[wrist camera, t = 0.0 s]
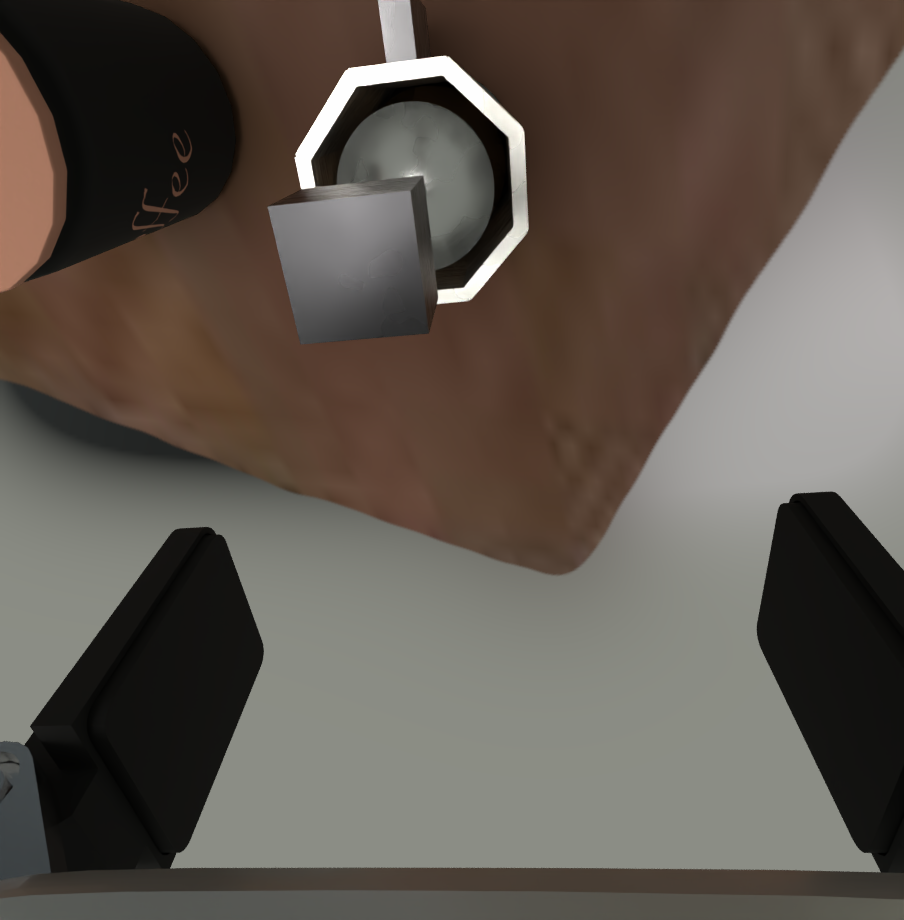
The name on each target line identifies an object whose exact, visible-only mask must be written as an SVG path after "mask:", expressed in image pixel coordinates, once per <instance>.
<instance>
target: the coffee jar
mask: <svg viewBox="0 0 904 920" xmlns="http://www.w3.org/2000/svg"><path fill="white" fill-rule="evenodd" d="M235 143H236V138H235V130H234V123H233V115H232V108H231V104H230V102H229V99H228V97H227V94H226V92H225V90H224V87H223V85H222V82H221V80H220V77H219V75H218V72H217V71H216V69H215V68H214V67H213V65H212V64H211V63H210V61H209V60H208V58H207V57H206V56H205V54H204V53H203V52H202V50H201V49H200V48H199V46H198V45H197V43H196V42H195V41H194V40H193V39H192V38H191V37H189V36H188V35H187V34H186V33H184V32H183V31H182V30H181V29H179V28H178V27H177V26H176V25H175V24H173V23H172V22H171V21H170V20H168V19H167V18H166V17H164V16H162V15H159V14H157V13H154V12H152V11H149V10H147V9H144V8H142V7H139V6H137V5H134V4H132V3H128V2H124V1H120V0H0V293H2V292H5V291H8V290H11V289H13V288H15V287H17V286H18V285H20V284H22V283H23V282H26V281H29V280H32V279H35V278H38V277H41V276H44V275H47V274H51V273H54V272H57V271H59V270H61V269H64V268H66V267H69V266H71V265H74V264H76V263H79V262H81V261H83V260H86V259H88V258H91V257H93V256H96V255H98V254H101V253H103V252H105V251H108V250H110V249H113V248H115V247H118V246H120V245H123V244H125V243H127V242H130V241H132V240H135V239H137V238H140V237H142V236H145V235H147V234H149V233H152V232H154V231H157V230H159V229H162V228H164V227H167V226H169V225H171V224H174V223H176V222H179V221H181V220H184V219H186V218H189V217H191V216H193V215H196V214H198V213H199V212H201V211H202V210H203V209H204V208H205V207H206V206H208V205H209V204H210V203H211V202H212V201H213V200H215V199H216V198H217V197H218V196H219V194H220V192H221V190H222V188H223V186H224V184H225V182H226V180H227V178H228V177H229V175H230V173H231V169H232V163H233V156H234V150H235Z"/></svg>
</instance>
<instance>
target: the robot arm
mask: <svg viewBox="0 0 904 920" xmlns="http://www.w3.org/2000/svg"><path fill="white" fill-rule="evenodd" d="M757 636H758V641H759V644H760V647H761V649H762V652H763V654H764V656H765V658H766V660H767V662H768V664H769V666H770V668H771V670H772V672H773V675H774V677H775V679H776V681H777V683H778V685H779V687H780V689H781V691H782V693H783V695H784V697H785V699H786V702H787V704H788V706H789V708H790V710H791V712H792V714H793V716H794V718H795V720H796V722H797V724H798V726H799V729H800V731H801V733H802V735H803V737H804V739H805V741H806V743H807V745H808V747H809V749H810V751H811V754H812V756H813V757H814V760H815V762H816V764H817V766H818V768H819V770H820V772H821V774H822V776H823V779H824V780H825V783H826V785H827V787H828V789H829V791H830V793H831V795H832V797H833V799H834V801H835V803H836V805H837V808H838V810H839V812H840V814H841V816H842V818H843V820H844V822H845V824H846V826H847V828H848V830H849V833H850V835H851V837H852V839H853V840H854V842H855V844H856V846H857V847H858V848H859V849H860V850H861V851H862V852H864V853H872V855H873V857H874V859H875V861H876V863H877V865H878V867H879V869H880V871H881V873H879V872H877V873H876V872H840V871H839V872H838V871H800V870H730V869H721V870H720V869H609V868H608V869H607V868H605V869H604V868H176V869H170V867H171V865H172V862H173V860H174V857H175V855H176V853H180V852H182V851H183V850H184V849H185V848H186V847H187V845H188V843H189V841H190V839H191V837H192V834H193V832H194V829H195V827H196V824H197V822H198V820H199V817H200V815H201V812H202V810H203V807H204V805H205V802H206V800H207V797H208V795H209V793H210V790H211V788H212V785H213V783H214V780H215V777H216V775H217V773H218V770H219V768H220V765H221V763H222V761H223V758H224V756H225V753H226V750H227V748H228V746H229V743H230V741H231V738H232V736H233V733H234V731H235V729H236V726H237V723H238V721H239V719H240V716H241V714H242V711H243V709H244V706H245V704H246V701H247V699H248V696H249V694H250V692H251V689H252V687H253V684H254V681H255V679H256V677H257V674H258V672H259V669H260V667H261V664H262V661H263V654H264V649H263V643H262V640H261V637H260V634H259V631H258V629H257V626H256V623H255V620H254V618H253V615H252V612H251V609H250V606H249V604H248V601H247V598H246V595H245V593H244V590H243V587H242V585H241V582H240V579H239V576H238V573H237V571H236V568H235V565H234V562H233V560H232V557H231V554H230V551H229V549H228V546H227V543H226V541H225V539H224V537H223V536H222V535H216V533H215V532H214V530H213V529H212V528H209V527H199V528H182V529H176V530H174V531H173V532H172V533H171V534H170V536H169V537H168V539H167V540H166V541H165V543H164V544H163V546H162V547H161V548H160V550H159V551H158V552H157V554H156V555H155V557H154V558H153V559H152V560H151V562H150V563H149V564H148V566H147V567H146V569H145V570H144V571H143V573H142V574H141V575H140V577H139V578H138V580H137V581H136V582H135V584H134V585H133V587H132V588H131V589H130V590H129V592H128V593H127V595H126V596H125V597H124V599H123V600H122V602H121V603H120V604H119V606H118V607H117V608H116V610H115V611H114V612H113V614H112V615H111V617H110V618H109V619H108V621H107V622H106V623H105V625H104V626H103V627H102V629H101V630H100V631H99V633H98V634H97V636H96V637H95V638H94V640H93V641H92V642H91V644H90V645H89V647H88V648H87V649H86V651H85V652H84V653H83V655H82V656H81V657H80V659H79V660H78V661H77V663H76V664H75V666H74V667H73V668H72V670H71V671H70V672H69V674H68V675H67V677H66V678H65V679H64V681H63V682H62V683H61V685H60V686H59V688H58V689H57V690H56V692H55V693H54V694H53V696H52V697H51V698H50V700H49V701H48V702H47V704H46V705H45V707H44V708H43V709H42V711H41V712H40V713H39V715H38V716H37V718H36V719H35V720H34V722H33V723H32V724H31V726H30V727H31V728H32V730H33V731H34V732H33V734H32V735H31V737H30V738H29V740H28V741H27V742H26V743H25V745H22V744H20V743H19V742H8V741H3V742H0V920H904V570H903V569H902V568H901V567H900V566H899V565H898V564H897V562H896V561H895V560H894V559H893V558H892V556H890V554H889V553H888V552H887V551H886V549H885V548H884V547H883V546H882V545H881V544H880V542H879V541H878V540H877V539H876V538H875V537H874V535H873V534H872V533H871V532H870V531H869V530H868V528H867V527H866V526H865V525H864V524H863V523H862V521H861V520H860V519H859V518H858V517H857V516H856V515H855V513H854V512H853V511H852V510H851V509H850V507H849V506H848V505H847V504H846V503H845V502H844V500H843V499H842V498H841V497H840V496H839V495H838V494H837V493H835V492H816V493H798V494H794V495H793V496H792V497H791V499H790V501H789V503H783V504H781V505H780V507H779V509H778V513H777V518H776V524H775V529H774V534H773V540H772V545H771V551H770V556H769V562H768V568H767V573H766V579H765V584H764V590H763V595H762V600H761V605H760V612H759V617H758V622H757Z"/></svg>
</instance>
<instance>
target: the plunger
mask: <svg viewBox="0 0 904 920" xmlns="http://www.w3.org/2000/svg"><path fill="white" fill-rule="evenodd" d="M493 201H494V177H493V170H492V166H491V162H490V158H489V156H488V153H487V151H486V148H485V147H484V145H483V143H482V141H481V139H480V138H479V136H478V135H477V134H476V132H475V131H474V130H473V129H472V127H471V126H470V125H469V124H468V123H467V122H466V121H465V120H463V119H462V118H461V117H460V116H458V115H457V114H455V113H454V112H452V111H450V110H449V109H447V108H444V107H442V106H439V105H436V104H433V103H429V102H421V101H409V102H401V103H396V104H392V105H389V106H386V107H384V108H382V109H380V110H378V111H376V112H374V113H373V114H371V115H370V116H369V117H367V118H366V119H365V120H364V121H363V122H362V123H361V124H360V125H359V126H358V127H357V128H356V129H355V131H354V132H353V133H352V135H351V136H350V138H349V140H348V142H347V143H346V145H345V147H344V150H343V153H342V155H341V159H340V163H339V167H338V174H337V185H331V186H322V187H313V188H304V189H301V190H299V191H297V192H295V193H293V194H291V195H289V196H287V197H285V198H283V199H281V200H279V201H278V202H276V203H274V204H272V205H270V206H268V210H269V214H270V218H271V223H272V227H273V231H274V235H275V239H276V244H277V248H278V252H279V256H280V260H281V265H282V269H283V273H284V277H285V281H286V285H287V290H288V294H289V298H290V302H291V306H292V311H293V315H294V319H295V323H296V327H297V332H298V336H299V340H300V344H310V343H322V342H334V341H345V340H357V339H369V338H380V337H392V336H404V335H416V334H427V333H429V331H430V327H431V324H432V320H433V316H434V313H435V309H436V305H437V301H438V291H437V283H436V274H435V270H438V269H441V268H444V267H446V266H449V265H451V264H453V263H454V262H456V261H458V260H459V259H461V258H462V257H463V256H464V255H466V254H467V253H468V252H469V251H470V250H471V249H472V248H473V247H474V246H475V245H476V243H477V242H478V240H479V239H480V238H481V236H482V234H483V232H484V231H485V229H486V227H487V224H488V221H489V219H490V216H491V212H492V208H493Z"/></svg>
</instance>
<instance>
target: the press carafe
mask: <svg viewBox="0 0 904 920" xmlns="http://www.w3.org/2000/svg"><path fill="white" fill-rule="evenodd" d="M378 4H379V11H380V19H381V26H382V33H383V41H384V48H385V56H386V63H387V64H379V65H372V66H364V67H356V68H349V70H346V71H345V73H344V74H343V76H342V78H341V79H340V81H339V83H338V84H337V86H336V88H335V89H334V91H333V93H332V94H331V96H330V98H329V99H328V101H327V103H326V104H325V106H324V108H323V109H322V111H321V113H320V114H319V116H318V118H317V119H316V121H315V123H314V124H313V126H312V127H311V129H310V131H309V132H308V134H307V136H306V137H305V139H304V141H303V142H302V144H301V146H300V147H299V149H298V151H297V152H296V154H295V155H296V156H297V157H295V161H296V165H297V170H298V175H299V180H300V184H301V189H304V188H313V187H322V186H331V185H337V174H338V167H339V163H340V159H341V155H342V153H343V150H344V147H345V145H346V143H347V142H348V140H349V138H350V136H351V135H352V133H353V132H354V131H355V129H356V128H357V127H358V126H359V125H360V124H361V123H362V122H363V121H364V120H365V119H366V118H367V117H369V116H370V115H371V114H373V113H374V112H376V111H378V110H380V109H382V108H384V107H386V106H389V105H392V104H396V103H401V102H409V101H421V102H429V103H433V104H436V105H439V106H442V107H444V108H447V109H449V110H450V111H452V112H454V113H455V114H457V115H458V116H460V117H461V118H462V119H463V120H465V121H466V122H467V123H468V124H469V125H470V126H471V127H472V129H473V130H474V131H475V132H476V134H477V135H478V136H479V138H480V139H481V141H482V143H483V145H484V147H485V148H486V151H487V153H488V156H489V158H490V162H491V166H492V170H493V177H494V201H493V208H492V212H491V216H490V219H489V221H488V224H487V227H486V229H485V231H484V232H483V234H482V236H481V238H480V239H479V240H478V242H477V243H476V245H475V246H474V247H473V248H472V249H471V250H470V251H469V252H468V253H467V254H466V255H464V256H463V257H462V258H461V259H459V260H458V261H456V262H454V263H453V264H451V265H449V266H446V267H444V268H441V269H438V270H435V274H436V283H437V291H438V301H437V304H440V303H452V302H463V301H469V299H472V298H473V297H474V296H475V295H476V293H477V292H478V291H479V290H480V289H481V287H482V286H483V285H484V284H485V283H486V282H487V280H488V279H489V278H490V277H491V276H492V274H493V273H494V272H495V271H496V270H497V268H498V267H499V266H500V265H501V264H502V262H503V261H504V260H505V259H506V258H507V256H508V255H509V254H510V253H511V252H512V251H513V249H514V248H515V247H516V246H517V245H518V243H519V242H520V241H521V240H522V239H523V237H524V236H525V235H526V234H527V233H528V232H527V230H529V229H528V207H527V184H526V161H525V139H524V130H523V127H522V126H521V125H520V124H519V122H518V121H517V120H516V119H515V118H514V117H513V116H512V115H511V114H510V113H509V112H508V111H507V110H506V109H505V108H504V107H503V106H502V105H501V104H500V102H499V101H498V100H497V98H496V97H495V96H494V95H493V94H492V93H491V92H490V91H489V90H488V89H487V88H485V87H484V86H483V85H482V84H481V83H479V82H477V81H476V80H475V79H474V78H473V77H472V76H471V75H469V74H468V73H467V72H466V71H465V70H464V69H463V68H462V67H461V66H460V65H458V64H457V63H456V62H455V61H453V60H452V59H451V58H450V57H447V56H440V57H432V58H431V54H430V44H429V35H428V25H427V16H426V8H425V7H424V5H423V4H422V3H421V2H420V0H378Z"/></svg>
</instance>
